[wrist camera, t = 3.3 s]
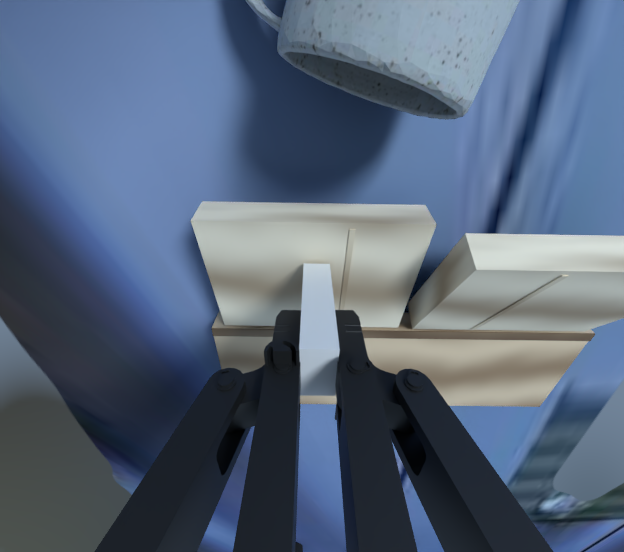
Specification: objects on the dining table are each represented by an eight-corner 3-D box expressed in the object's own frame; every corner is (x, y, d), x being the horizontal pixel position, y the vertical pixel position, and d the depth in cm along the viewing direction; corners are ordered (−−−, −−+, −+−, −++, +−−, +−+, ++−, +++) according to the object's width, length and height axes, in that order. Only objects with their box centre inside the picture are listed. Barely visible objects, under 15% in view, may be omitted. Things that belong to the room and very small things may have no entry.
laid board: (219, 310, 22) (211, 328, 20) (572, 315, 22) (595, 333, 20) (234, 383, 27) (228, 404, 25) (525, 387, 27) (540, 407, 25)
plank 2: (465, 233, 13) (476, 271, 12) (723, 237, 13) (755, 275, 12) (407, 303, 21) (412, 330, 20) (572, 305, 21) (585, 332, 20)
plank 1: (202, 201, 16) (190, 221, 14) (425, 204, 16) (437, 225, 14) (230, 304, 22) (224, 326, 20) (392, 306, 22) (398, 328, 20)
